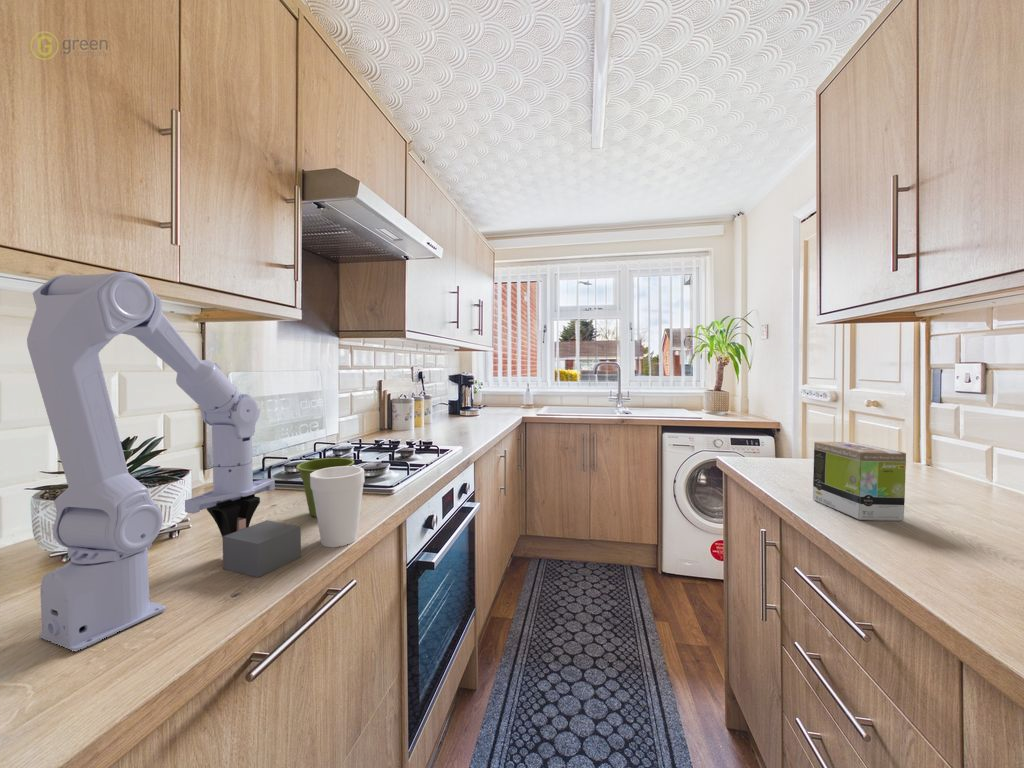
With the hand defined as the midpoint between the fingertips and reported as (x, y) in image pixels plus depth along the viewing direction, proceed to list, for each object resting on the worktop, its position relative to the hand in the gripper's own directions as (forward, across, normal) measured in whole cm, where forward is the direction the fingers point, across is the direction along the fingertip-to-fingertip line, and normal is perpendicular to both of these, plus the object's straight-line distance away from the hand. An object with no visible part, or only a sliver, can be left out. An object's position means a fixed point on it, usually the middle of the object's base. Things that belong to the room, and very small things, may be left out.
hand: (234, 541), depth 74 cm
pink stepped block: (+1, 0, -3) cm, 4 cm away
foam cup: (+3, +12, -12) cm, 17 cm away
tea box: (+3, +69, -109) cm, 129 cm away
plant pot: (+3, +23, +2) cm, 23 cm away
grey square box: (+2, 0, -7) cm, 7 cm away
